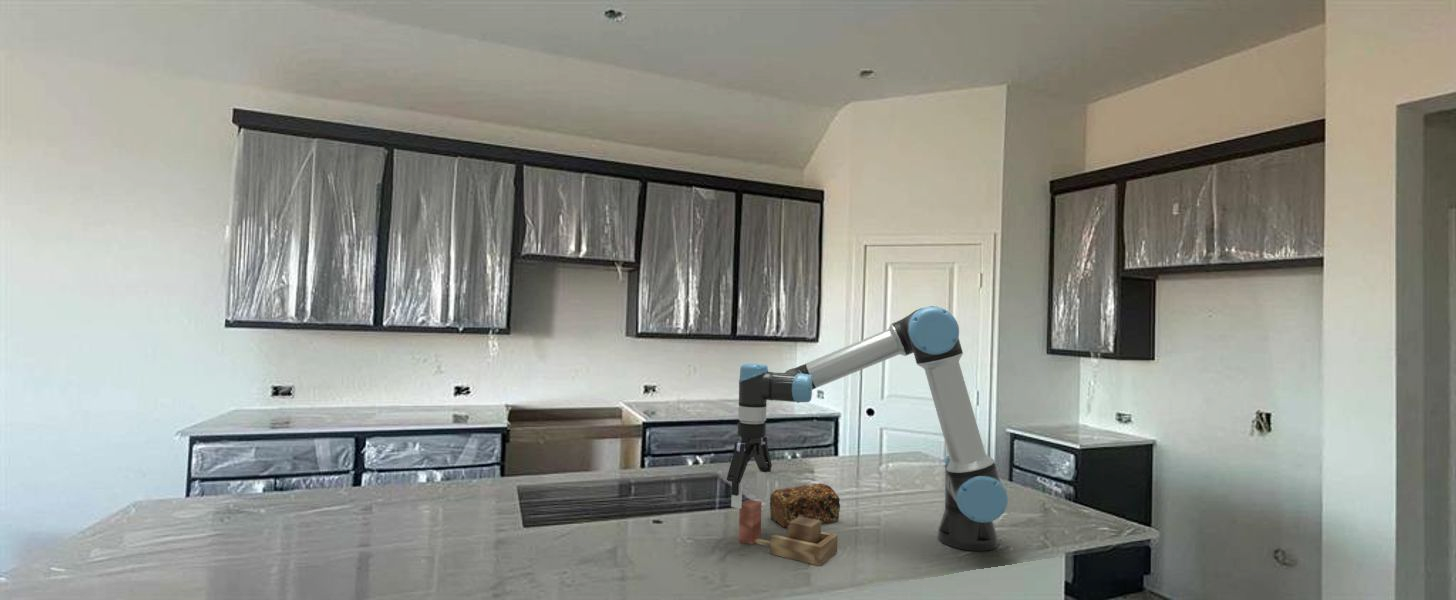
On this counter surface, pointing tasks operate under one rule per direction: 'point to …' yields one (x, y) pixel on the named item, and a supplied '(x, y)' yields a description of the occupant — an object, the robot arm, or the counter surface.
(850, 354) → the robot arm
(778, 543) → the frame
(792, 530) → the tethered block
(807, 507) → the bread
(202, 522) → the counter surface
